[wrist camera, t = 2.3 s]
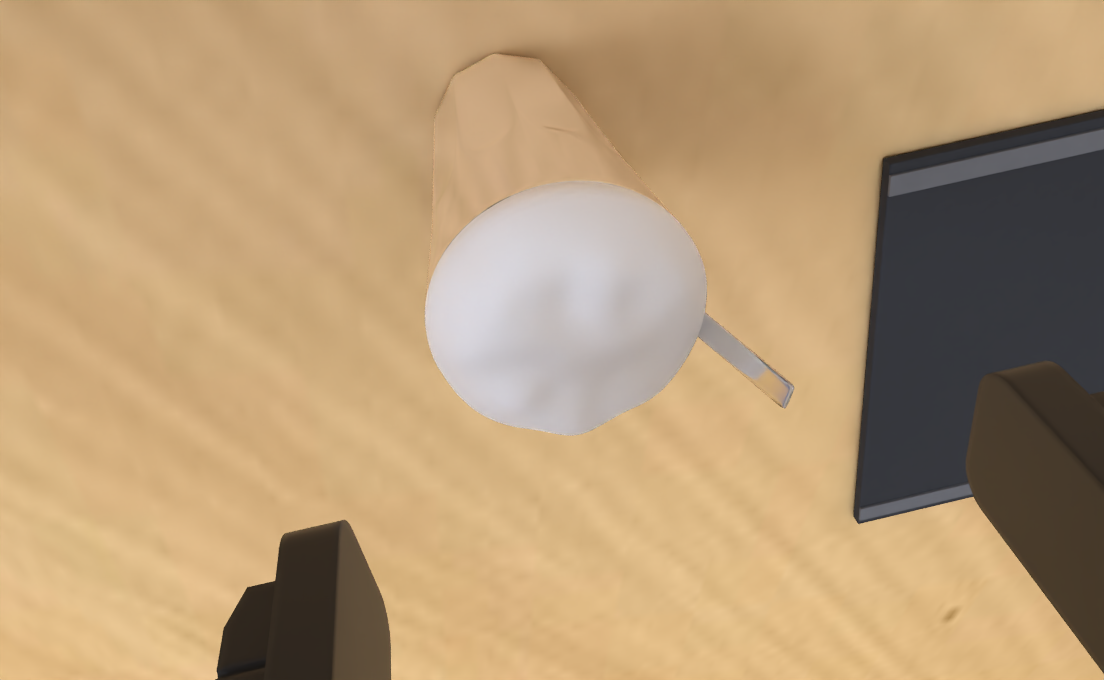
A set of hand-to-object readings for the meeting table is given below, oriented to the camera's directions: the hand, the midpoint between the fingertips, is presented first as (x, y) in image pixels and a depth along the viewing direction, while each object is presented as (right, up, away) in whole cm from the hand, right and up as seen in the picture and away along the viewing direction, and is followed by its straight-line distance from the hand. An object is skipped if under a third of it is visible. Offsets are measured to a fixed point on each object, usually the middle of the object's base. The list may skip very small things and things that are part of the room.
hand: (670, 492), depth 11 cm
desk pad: (+16, +3, +16) cm, 23 cm away
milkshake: (-2, +7, +10) cm, 12 cm away
